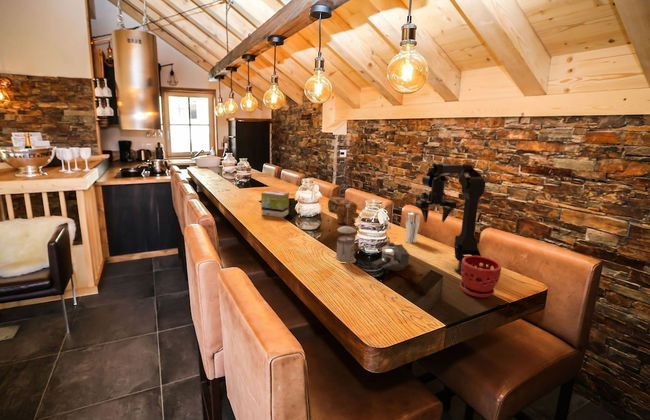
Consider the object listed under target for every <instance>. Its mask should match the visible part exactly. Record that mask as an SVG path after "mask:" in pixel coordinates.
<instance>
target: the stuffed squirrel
mask: <svg viewBox="0 0 650 420" xmlns="http://www.w3.org/2000/svg"><path fill="white" fill-rule="evenodd" d="M353 202H354V201H352V202H349V203H348V205H350V208H347V210H348V220H347V210H346V209H345V207H338V209H337V211H336V213H335V214H336V217H337V218H336V221H337V222H338V223H339V224H342V225H344V224H345V226H350V227H355V226H354V223H356V222H355V220H356V218H357V217H359V216H360V213H358V212H357V210H358V204H356V203H355V202H354V203H353ZM354 210H356V212H354Z"/></svg>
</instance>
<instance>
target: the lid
mask: <svg viewBox="0 0 650 420" xmlns="http://www.w3.org/2000/svg"><path fill="white" fill-rule="evenodd" d="M382 252H383V253H384V254H386V255H390V256H394V257H395V258H396V260H397V261H398V263H399V264H400V265H403V266H405V267H406V266H407V267H408V266H409V259H410V258H409V257H410V253H409V252H408V250H407V249H406V248H405V247H404V245H403V244H395V243H394V242H387V244H386V245H385V246H383V247H382V248H381V253H382Z"/></svg>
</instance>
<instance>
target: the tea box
mask: <svg viewBox="0 0 650 420" xmlns="http://www.w3.org/2000/svg"><path fill="white" fill-rule="evenodd" d="M260 196H261V198H260V199H261V206H260V207H261V210H260V211H261V215H262V216H267V217H268V216H269V217H274V218H275V217H277V218H281V217H283V218H285V217H286V216H287V215H289V207H290V205H289V204H290V200H289V198H290V193H289V192H288V191H287V192H286V191H277V190H269V189H268V190H266V191H263V192H261V195H260Z"/></svg>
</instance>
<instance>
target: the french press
mask: <svg viewBox="0 0 650 420" xmlns="http://www.w3.org/2000/svg"><path fill="white" fill-rule="evenodd" d="M346 208H350V205H346ZM347 220H348V210H347ZM337 232H338V233H341V234H345V235H342V236H339V237H337V241H336V256H335V257H334V258H335V259H336V260H338V261H340V262H346V263H351V264H354V263H356V261H357V259H356V258H355V249H356V247H355V246H356V242H355V238H354V237H352V236H348V235H349V234H353V233H356V232H357V230H356V229H355V228H353V226H350V225H343V226H340V227H338V228H337Z"/></svg>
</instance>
